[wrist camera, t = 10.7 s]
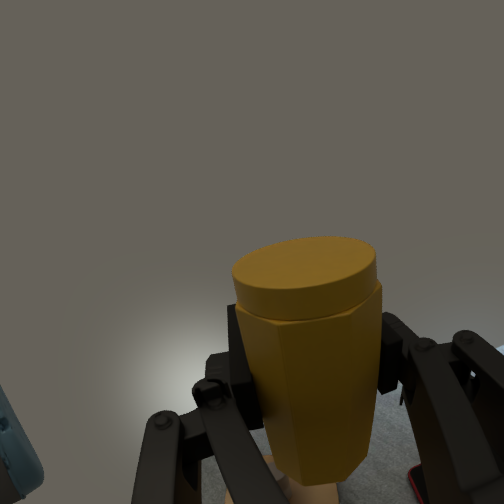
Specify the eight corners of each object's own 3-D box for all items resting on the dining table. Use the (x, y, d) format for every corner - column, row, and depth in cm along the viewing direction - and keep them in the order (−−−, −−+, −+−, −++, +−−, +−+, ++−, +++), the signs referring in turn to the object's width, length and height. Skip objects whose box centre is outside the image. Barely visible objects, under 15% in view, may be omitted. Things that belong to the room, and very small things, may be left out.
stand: (228, 545, 15) (200, 522, 13) (237, 469, 25) (218, 428, 23) (340, 539, 14) (347, 515, 12) (330, 461, 24) (330, 418, 22)
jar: (274, 489, 11) (219, 297, 8) (277, 423, 15) (240, 247, 12) (371, 475, 10) (398, 270, 7) (356, 412, 15) (354, 229, 12)
